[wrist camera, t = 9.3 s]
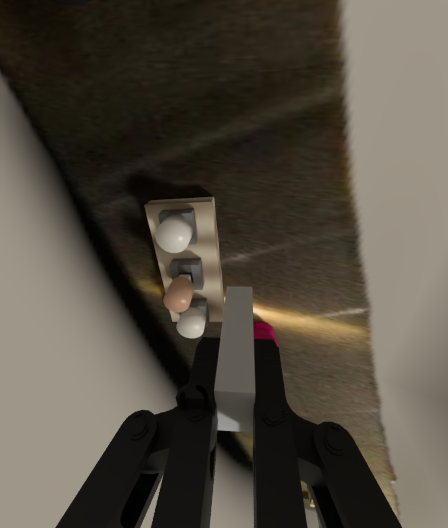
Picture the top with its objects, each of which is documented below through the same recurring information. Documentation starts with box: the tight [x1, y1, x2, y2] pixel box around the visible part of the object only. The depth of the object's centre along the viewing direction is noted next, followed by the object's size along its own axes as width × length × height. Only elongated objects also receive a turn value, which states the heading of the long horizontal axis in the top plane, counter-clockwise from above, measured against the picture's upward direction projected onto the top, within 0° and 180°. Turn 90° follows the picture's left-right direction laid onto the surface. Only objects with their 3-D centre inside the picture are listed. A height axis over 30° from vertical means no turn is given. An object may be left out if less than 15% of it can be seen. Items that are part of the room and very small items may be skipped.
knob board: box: [144, 197, 225, 327], centre depth 45 cm, size 25×11×6 cm, turn 5°
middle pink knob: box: [163, 275, 194, 312], centre depth 39 cm, size 4×4×6 cm
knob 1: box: [155, 215, 193, 253], centre depth 38 cm, size 5×5×5 cm
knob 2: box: [177, 307, 206, 338], centre depth 46 cm, size 5×5×5 cm
